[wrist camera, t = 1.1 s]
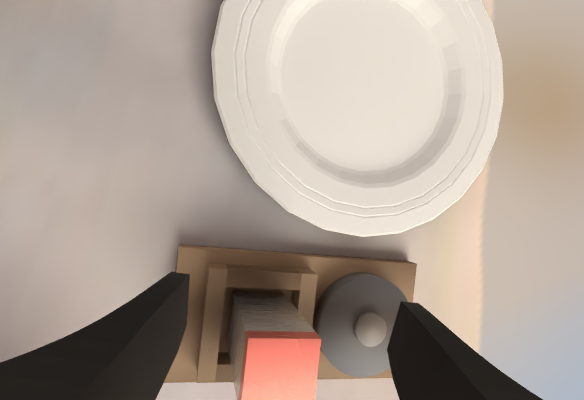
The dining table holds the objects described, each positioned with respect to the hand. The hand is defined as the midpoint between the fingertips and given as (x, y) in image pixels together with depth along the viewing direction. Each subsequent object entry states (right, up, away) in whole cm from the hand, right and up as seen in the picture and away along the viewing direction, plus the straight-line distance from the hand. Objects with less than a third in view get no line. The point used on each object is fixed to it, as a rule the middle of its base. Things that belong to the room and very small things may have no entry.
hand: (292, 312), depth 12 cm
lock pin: (-2, -3, +10) cm, 11 cm away
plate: (+5, +12, +13) cm, 18 cm away
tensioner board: (0, -4, +12) cm, 12 cm away
